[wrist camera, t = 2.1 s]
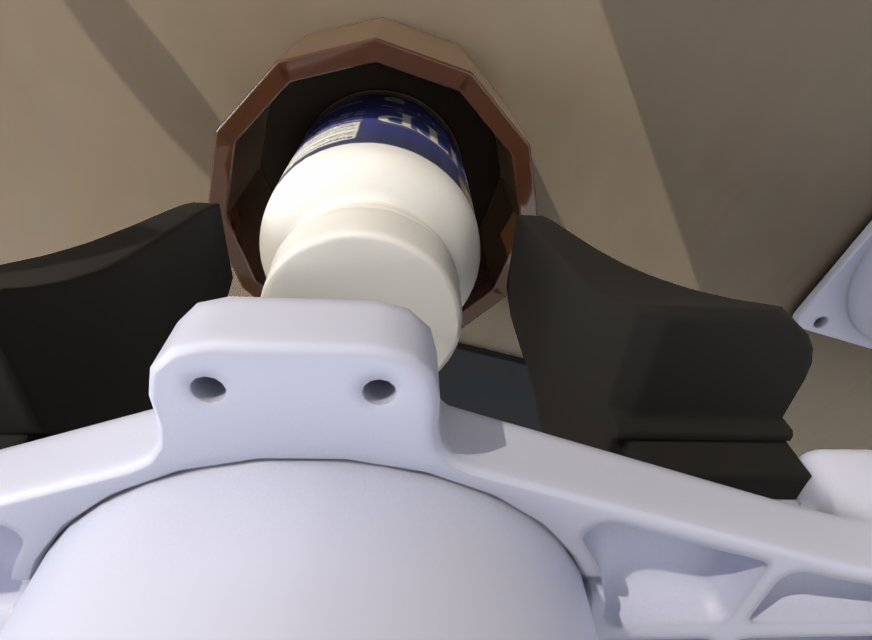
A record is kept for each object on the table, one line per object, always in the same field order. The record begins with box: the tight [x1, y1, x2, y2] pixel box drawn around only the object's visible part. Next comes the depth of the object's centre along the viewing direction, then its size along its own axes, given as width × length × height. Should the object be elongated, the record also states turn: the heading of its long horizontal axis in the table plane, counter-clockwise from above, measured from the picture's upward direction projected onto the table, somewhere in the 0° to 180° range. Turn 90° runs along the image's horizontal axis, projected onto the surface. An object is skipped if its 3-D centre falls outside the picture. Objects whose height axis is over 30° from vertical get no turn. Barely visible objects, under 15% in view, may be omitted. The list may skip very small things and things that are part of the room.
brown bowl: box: [209, 17, 538, 328], centre depth 16 cm, size 9×9×4 cm
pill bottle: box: [259, 90, 480, 372], centre depth 14 cm, size 5×5×9 cm
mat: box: [438, 344, 541, 432], centre depth 25 cm, size 16×10×1 cm, turn 72°
